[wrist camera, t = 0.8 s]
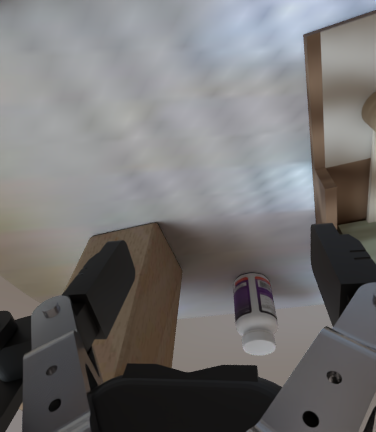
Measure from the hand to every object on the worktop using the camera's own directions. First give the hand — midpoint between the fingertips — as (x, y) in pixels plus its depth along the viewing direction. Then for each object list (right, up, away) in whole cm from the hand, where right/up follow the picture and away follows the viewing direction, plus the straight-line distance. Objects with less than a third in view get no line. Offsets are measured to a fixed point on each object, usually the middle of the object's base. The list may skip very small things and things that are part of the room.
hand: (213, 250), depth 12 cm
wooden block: (-8, -4, +28) cm, 29 cm away
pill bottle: (+8, -8, +30) cm, 32 cm away
